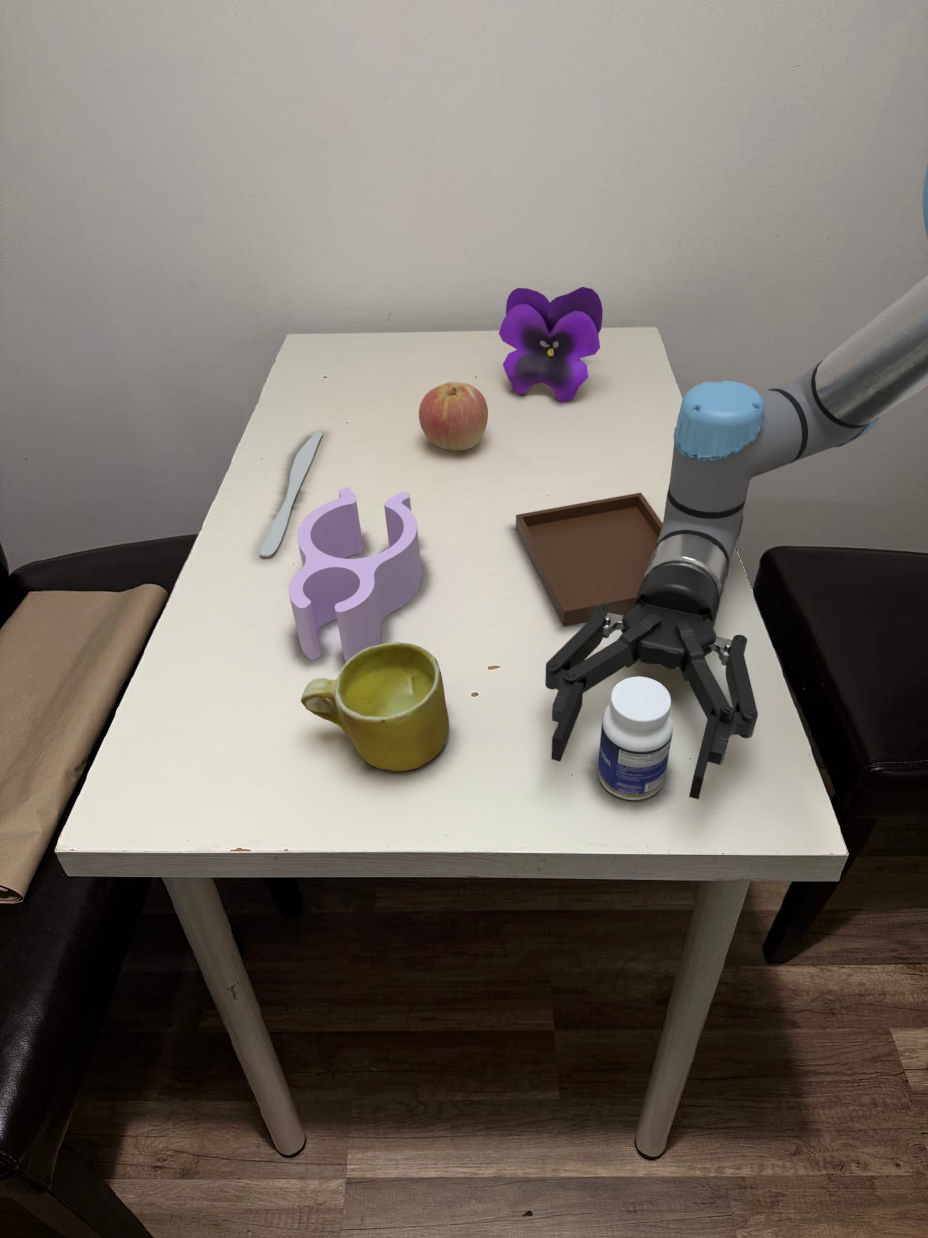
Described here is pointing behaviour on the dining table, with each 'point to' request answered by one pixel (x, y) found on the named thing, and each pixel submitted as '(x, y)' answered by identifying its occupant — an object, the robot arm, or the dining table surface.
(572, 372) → the flower
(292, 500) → the butter knife
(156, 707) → the dining table surface
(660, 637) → the robot arm
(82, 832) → the dining table surface
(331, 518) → the clip
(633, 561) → the brown square tray
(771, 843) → the dining table surface
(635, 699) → the pill bottle
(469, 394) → the apple
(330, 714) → the mug
